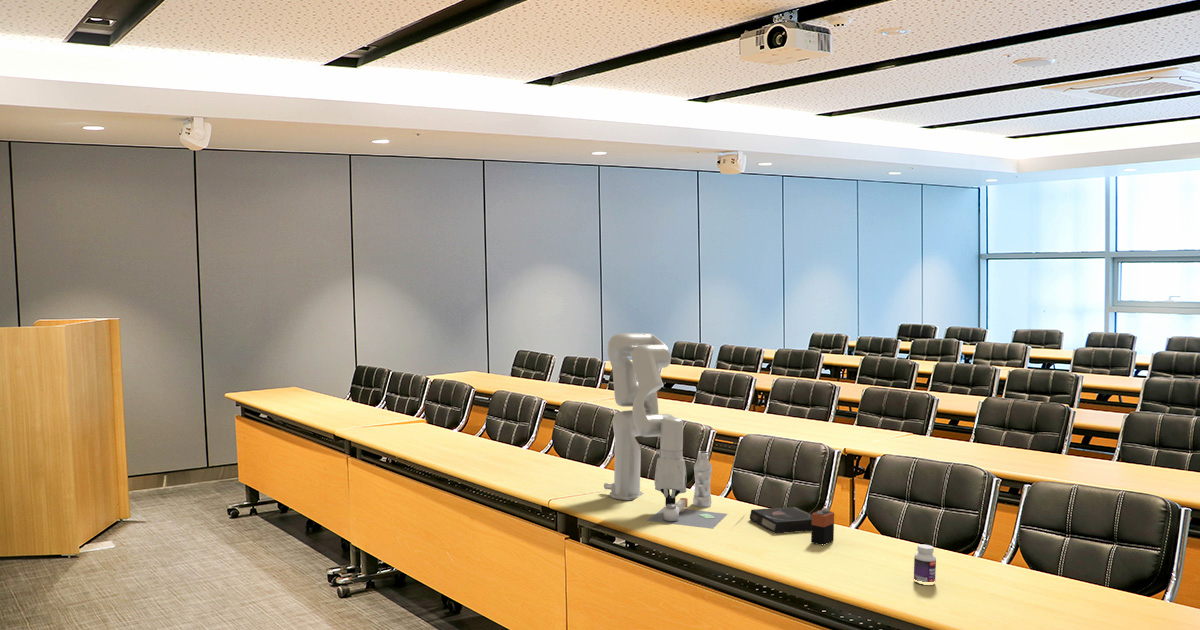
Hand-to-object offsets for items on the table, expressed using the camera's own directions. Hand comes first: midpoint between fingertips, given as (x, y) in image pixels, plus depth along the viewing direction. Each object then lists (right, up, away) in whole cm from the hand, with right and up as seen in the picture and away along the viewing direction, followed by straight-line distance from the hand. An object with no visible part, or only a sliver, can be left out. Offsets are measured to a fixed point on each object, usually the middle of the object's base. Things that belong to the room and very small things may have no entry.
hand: (670, 508), depth 297 cm
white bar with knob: (+2, -1, -4) cm, 5 cm away
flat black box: (+37, -4, -8) cm, 38 cm away
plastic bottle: (+12, -3, +11) cm, 16 cm away
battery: (+44, -5, -27) cm, 52 cm away
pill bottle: (+62, -6, -63) cm, 89 cm away
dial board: (+5, -3, -6) cm, 9 cm away
